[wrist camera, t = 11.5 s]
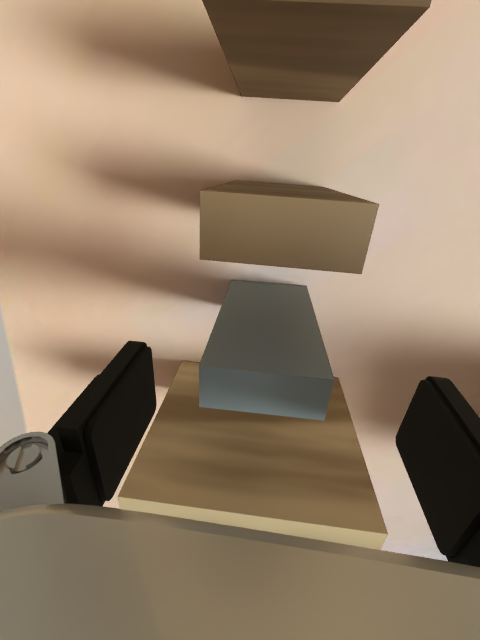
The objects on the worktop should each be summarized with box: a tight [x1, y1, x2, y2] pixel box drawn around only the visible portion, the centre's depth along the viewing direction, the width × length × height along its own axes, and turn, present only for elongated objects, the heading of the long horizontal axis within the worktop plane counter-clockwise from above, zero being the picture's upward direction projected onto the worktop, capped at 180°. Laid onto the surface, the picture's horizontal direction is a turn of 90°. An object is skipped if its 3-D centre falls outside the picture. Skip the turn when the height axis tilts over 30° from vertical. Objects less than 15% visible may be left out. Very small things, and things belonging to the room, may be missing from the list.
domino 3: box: [199, 280, 334, 421], centre depth 16 cm, size 2×5×10 cm, turn 87°
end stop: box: [118, 361, 388, 550], centre depth 19 cm, size 3×12×11 cm, turn 86°
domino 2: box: [200, 181, 379, 274], centre depth 13 cm, size 2×5×10 cm, turn 86°
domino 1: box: [202, 0, 431, 102], centre depth 11 cm, size 2×5×10 cm, turn 86°
